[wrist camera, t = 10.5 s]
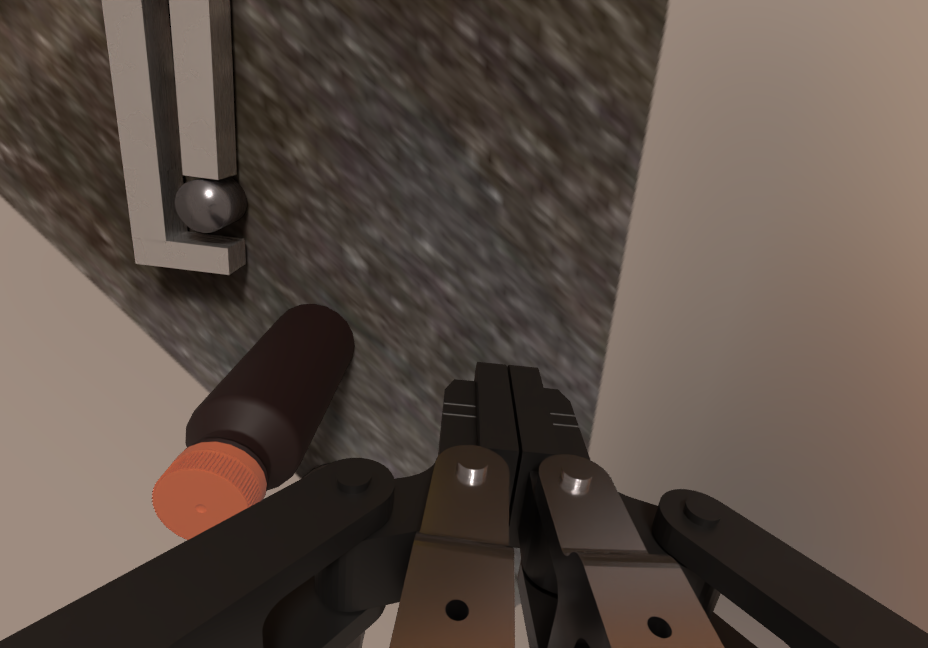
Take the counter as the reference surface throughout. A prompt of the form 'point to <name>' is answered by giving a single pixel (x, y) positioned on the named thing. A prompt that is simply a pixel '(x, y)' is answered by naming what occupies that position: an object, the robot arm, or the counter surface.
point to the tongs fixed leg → (155, 142)
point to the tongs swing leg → (206, 114)
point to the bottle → (256, 421)
